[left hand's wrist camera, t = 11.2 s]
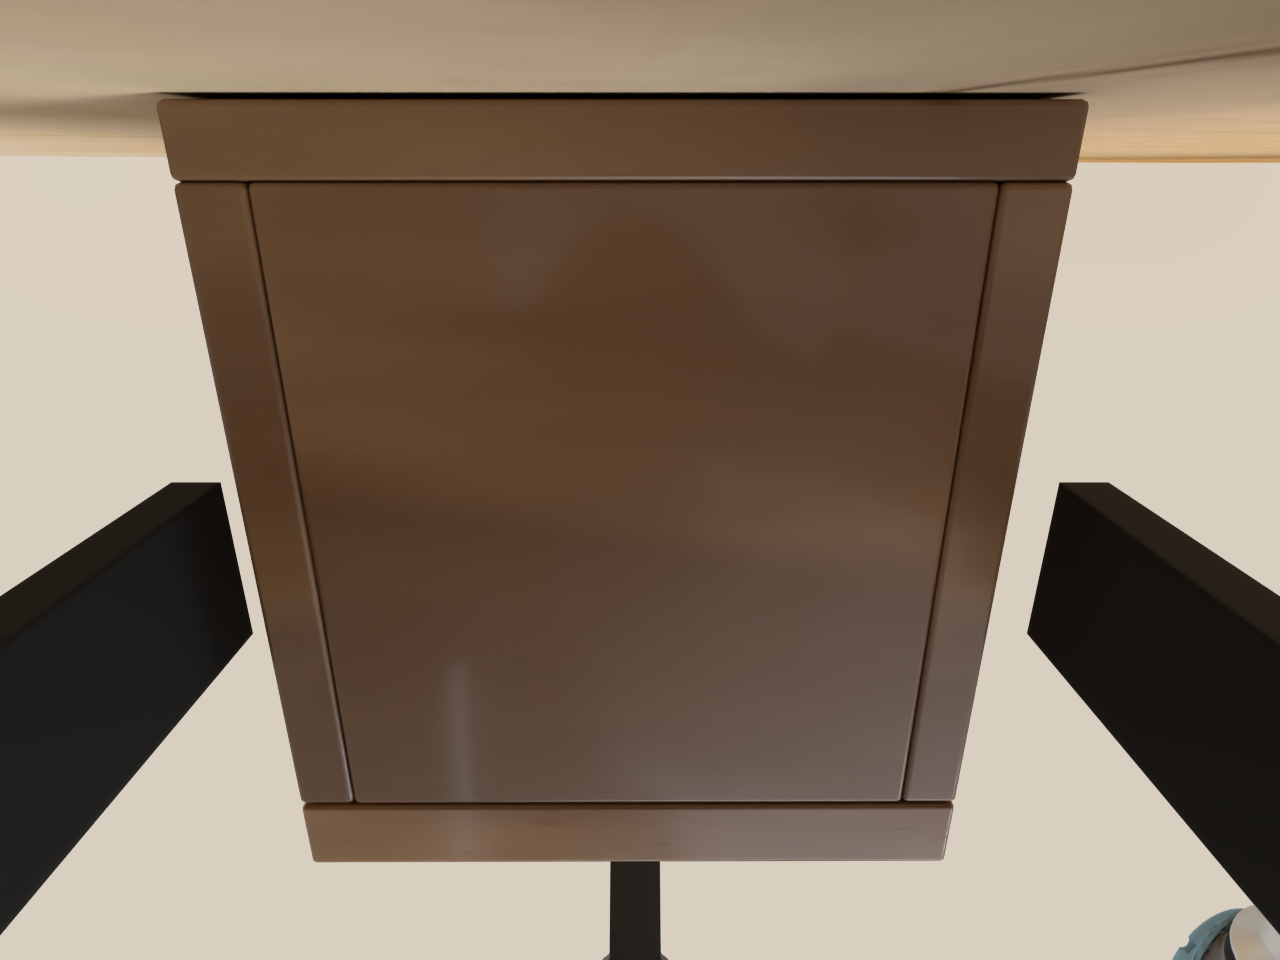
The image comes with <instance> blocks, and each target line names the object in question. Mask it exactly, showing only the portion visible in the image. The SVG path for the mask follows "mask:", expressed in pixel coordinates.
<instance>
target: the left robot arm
mask: <svg viewBox="0 0 1280 960" xmlns="http://www.w3.org/2000/svg"><path fill="white" fill-rule="evenodd" d="M252 634H253V632H252V627H251V622H250V618H249V613H248V608H247V604H246V599H245V594H244V590H243V585H242V580H241V576H240V571H239V567H238V562H237V557H236V553H235V548H234V543H233V539H232V534H231V529H230V525H229V520H228V515H227V511H226V506H225V501H224V497H223V492H222V488H221V483H170V484H169V485H167V486H166V487H164V488H163V489H161V490H160V491H158V492H157V493H155V494H154V495H152V496H151V497H149V498H148V499H146V500H144V501H143V502H142V503H140V504H138V505H137V506H136V507H134V508H132V509H131V510H130V511H128V512H126V513H125V514H123V515H122V516H120V517H119V518H117V519H116V520H114V521H113V522H111V523H110V524H108V525H107V526H105V527H104V528H102V529H101V530H99V531H98V532H96V533H95V534H93V535H92V536H90V537H89V538H87V539H86V540H84V541H83V542H81V543H80V544H78V545H77V546H75V547H74V548H72V549H71V550H69V551H68V552H66V553H65V554H63V555H62V556H60V557H59V558H57V559H56V560H54V561H53V562H51V563H50V564H48V565H47V566H45V567H44V568H42V569H41V570H39V571H38V572H36V573H35V574H33V575H32V576H30V577H29V578H27V579H26V580H24V581H23V582H21V583H20V584H18V585H17V586H15V587H14V588H12V589H10V590H9V591H8V592H6V593H4V594H3V595H2V596H0V935H1V934H2V932H3V931H4V930H5V929H6V928H7V926H8V925H9V924H10V923H11V922H12V920H13V919H14V918H15V917H16V916H17V914H18V913H19V912H20V911H21V910H22V909H23V907H24V906H25V905H26V904H27V902H28V901H29V900H30V899H31V898H32V897H33V895H34V894H35V893H36V892H37V891H38V889H39V888H40V887H41V886H42V885H43V883H44V882H45V881H46V880H47V879H48V877H49V876H50V875H51V874H52V873H53V871H54V870H55V869H56V868H57V867H58V866H59V864H60V863H61V862H62V861H63V860H64V858H65V857H66V856H67V855H68V854H69V852H70V851H71V850H72V849H73V848H74V846H75V845H76V844H77V843H78V842H79V840H80V839H81V838H82V837H83V836H84V834H85V833H86V832H87V831H88V830H89V829H90V827H91V826H92V825H93V824H94V822H95V821H96V820H97V819H98V818H99V817H100V815H101V814H102V813H103V812H104V811H105V809H106V808H107V807H108V806H109V805H110V803H111V802H112V801H113V800H114V799H115V798H116V796H117V795H118V794H119V793H120V792H121V790H122V789H123V788H124V787H125V786H126V784H127V783H128V782H129V781H130V780H131V778H132V777H133V776H134V775H135V774H136V772H137V771H138V770H139V769H140V768H141V766H142V765H143V764H144V763H145V762H146V760H147V759H148V758H149V757H150V756H151V755H152V753H153V752H154V751H155V750H156V749H157V747H158V746H159V745H160V744H161V743H162V741H163V740H164V739H165V738H166V737H167V735H168V734H169V733H170V732H171V731H172V729H173V728H174V727H175V726H176V725H177V723H178V722H179V721H180V720H181V719H182V718H183V716H184V715H185V714H186V713H187V712H188V710H189V709H190V708H191V707H192V706H193V704H194V703H195V702H196V701H197V700H198V698H199V697H200V696H201V695H202V694H203V692H204V691H205V690H206V689H207V688H208V686H209V685H210V684H211V683H212V682H213V680H214V679H215V678H216V677H217V676H218V675H219V673H220V672H221V671H222V670H223V669H224V667H225V666H226V665H227V664H228V663H229V661H230V660H231V659H232V658H233V657H234V655H235V654H236V653H237V652H238V651H239V649H240V648H241V647H242V646H243V645H244V644H245V642H246V641H247V640H248V639H249V638H250V636H251V635H252ZM1027 634H1028V635H1029V636H1030V638H1031V639H1032V640H1033V641H1034V642H1035V643H1036V645H1037V646H1038V647H1039V648H1040V649H1041V651H1042V652H1043V653H1044V654H1045V655H1046V657H1047V658H1048V659H1049V660H1050V661H1051V663H1052V664H1053V665H1054V666H1055V667H1056V669H1057V670H1058V671H1059V672H1060V673H1061V675H1062V676H1063V677H1064V678H1065V679H1066V680H1067V682H1068V683H1069V684H1070V685H1071V686H1072V688H1073V689H1074V690H1075V691H1076V692H1077V694H1078V695H1079V696H1080V697H1081V698H1082V700H1083V701H1084V702H1085V703H1086V704H1087V706H1088V707H1089V708H1090V709H1091V710H1092V712H1093V713H1094V714H1095V715H1096V716H1097V717H1098V719H1099V720H1100V721H1101V722H1102V723H1103V725H1104V726H1105V727H1106V728H1107V729H1108V731H1109V732H1110V733H1111V734H1112V735H1113V737H1114V738H1115V739H1116V740H1117V741H1118V743H1119V744H1120V745H1121V746H1122V747H1123V749H1124V750H1125V751H1126V752H1127V753H1128V754H1129V756H1130V757H1131V758H1132V759H1133V760H1134V762H1135V763H1136V764H1137V765H1138V766H1139V768H1140V769H1141V770H1142V771H1143V772H1144V774H1145V775H1146V776H1147V777H1148V778H1149V780H1150V781H1151V782H1152V783H1153V784H1154V785H1155V787H1156V788H1157V789H1158V790H1159V791H1160V793H1161V794H1162V795H1163V796H1164V797H1165V799H1166V800H1167V801H1168V802H1169V803H1170V805H1171V806H1172V807H1173V808H1174V809H1175V811H1176V812H1177V813H1178V814H1179V815H1180V817H1181V818H1182V819H1183V820H1184V821H1185V823H1186V824H1187V825H1188V826H1189V827H1190V829H1191V830H1192V831H1193V832H1194V833H1195V835H1196V836H1197V837H1198V838H1199V839H1200V840H1201V842H1202V843H1203V844H1204V845H1205V846H1206V848H1207V849H1208V850H1209V851H1210V852H1211V854H1212V855H1213V856H1214V857H1215V858H1216V860H1217V861H1218V862H1219V863H1220V864H1221V865H1222V867H1223V868H1224V869H1225V870H1226V872H1227V873H1228V874H1229V875H1230V876H1231V877H1232V879H1233V880H1234V881H1235V882H1236V883H1237V885H1238V886H1239V887H1240V888H1241V889H1242V891H1243V892H1244V893H1245V894H1246V895H1247V896H1248V898H1249V899H1250V900H1251V901H1252V902H1253V904H1254V905H1255V906H1256V907H1257V909H1258V910H1259V911H1260V912H1261V913H1262V914H1263V916H1264V917H1265V918H1266V919H1267V920H1268V922H1269V923H1270V924H1271V925H1272V926H1273V928H1274V929H1275V930H1276V931H1277V932H1278V934H1279V935H1280V596H1279V595H1277V594H1276V593H1274V592H1273V591H1271V590H1269V589H1268V588H1267V587H1265V586H1263V585H1262V584H1260V583H1259V582H1257V581H1256V580H1254V579H1253V578H1251V577H1250V576H1248V575H1247V574H1245V573H1244V572H1242V571H1241V570H1239V569H1238V568H1236V567H1235V566H1233V565H1232V564H1230V563H1229V562H1227V561H1226V560H1224V559H1223V558H1221V557H1220V556H1218V555H1217V554H1215V553H1214V552H1212V551H1211V550H1209V549H1208V548H1206V547H1205V546H1203V545H1202V544H1200V543H1199V542H1197V541H1196V540H1194V539H1193V538H1191V537H1190V536H1188V535H1187V534H1185V533H1184V532H1182V531H1181V530H1179V529H1178V528H1176V527H1175V526H1173V525H1172V524H1170V523H1169V522H1167V521H1166V520H1164V519H1163V518H1161V517H1160V516H1158V515H1157V514H1155V513H1154V512H1152V511H1151V510H1149V509H1148V508H1146V507H1145V506H1143V505H1142V504H1140V503H1139V502H1137V501H1136V500H1134V499H1132V498H1131V497H1130V496H1128V495H1127V494H1125V493H1123V492H1122V491H1120V490H1119V489H1117V488H1116V487H1114V486H1113V485H1111V484H1110V483H1059V487H1058V492H1057V497H1056V501H1055V506H1054V511H1053V515H1052V520H1051V525H1050V529H1049V534H1048V539H1047V543H1046V548H1045V553H1044V557H1043V562H1042V567H1041V571H1040V576H1039V580H1038V585H1037V590H1036V594H1035V599H1034V604H1033V608H1032V613H1031V618H1030V622H1029V627H1028V632H1027Z"/></svg>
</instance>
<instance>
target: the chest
mask: <svg viewBox="0 0 1280 960" xmlns="http://www.w3.org/2000/svg"><path fill="white" fill-rule="evenodd" d="M157 110H158V115H159V120H160V124H161V129H162V134H163V139H164V144H165V148H166V153H167V158H168V163H169V168H170V173H171V175H172V177H173V178H174V179H175V180H178V181H180V183H178V184H176V185H175V194H176V199H177V204H178V209H179V213H180V218H181V223H182V228H183V233H184V237H185V242H186V247H187V252H188V257H189V261H190V266H191V271H192V276H193V281H194V286H195V290H196V295H197V300H198V305H199V310H200V314H201V319H202V324H203V329H204V333H205V338H206V343H207V348H208V353H209V358H210V362H211V367H212V372H213V377H214V382H215V387H216V391H217V396H218V401H219V406H220V411H221V415H222V420H223V425H224V430H225V435H226V439H227V444H228V449H229V454H230V459H231V464H232V468H233V473H234V478H235V483H236V488H237V492H238V497H239V502H240V507H241V512H242V516H243V521H244V526H245V531H246V536H247V541H248V545H249V550H250V555H251V560H252V565H253V569H254V574H255V579H256V584H257V589H258V593H259V598H260V603H261V608H262V613H263V617H264V622H265V627H266V632H267V637H268V641H269V646H270V651H271V656H272V661H273V666H274V670H275V675H276V680H277V685H278V690H279V694H280V699H281V704H282V709H283V714H284V719H285V723H286V728H287V733H288V738H289V743H290V747H291V752H292V757H293V762H294V767H295V771H296V776H297V781H298V786H299V791H300V795H301V799H302V801H304V802H351V801H353V800H354V798H355V800H356V801H357V802H360V803H396V802H790V801H899V800H900V799H901V796H902V798H903V799H904V800H906V801H951V800H953V799H954V798H955V794H956V789H957V784H958V779H959V774H960V768H961V763H962V758H963V753H964V748H965V743H966V737H967V732H968V727H969V722H970V716H971V712H972V706H973V701H974V696H975V691H976V686H977V680H978V675H979V670H980V665H981V660H982V655H983V649H984V644H985V639H986V633H987V629H988V623H989V618H990V613H991V608H992V603H993V597H994V592H995V587H996V582H997V577H998V572H999V566H1000V561H1001V556H1002V550H1003V546H1004V541H1005V535H1006V530H1007V525H1008V520H1009V515H1010V509H1011V504H1012V499H1013V494H1014V489H1015V484H1016V478H1017V473H1018V468H1019V463H1020V458H1021V452H1022V447H1023V442H1024V437H1025V432H1026V427H1027V421H1028V416H1029V411H1030V406H1031V401H1032V395H1033V390H1034V385H1035V380H1036V375H1037V370H1038V364H1039V359H1040V354H1041V349H1042V344H1043V338H1044V333H1045V328H1046V323H1047V318H1048V313H1049V307H1050V302H1051V297H1052V292H1053V287H1054V281H1055V276H1056V271H1057V266H1058V261H1059V256H1060V250H1061V245H1062V240H1063V234H1064V230H1065V224H1066V219H1067V214H1068V209H1069V204H1070V198H1071V193H1072V186H1071V184H1069V183H1067V182H1066V181H1069V180H1071V179H1073V178H1074V176H1075V174H1076V169H1077V164H1078V159H1079V154H1080V149H1081V144H1082V138H1083V133H1084V128H1085V123H1086V118H1087V113H1088V102H1087V101H1085V100H1083V99H162V100H160V101H159V102H157Z"/></svg>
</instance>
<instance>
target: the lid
mask: <svg viewBox="0 0 1280 960" xmlns="http://www.w3.org/2000/svg"><path fill="white" fill-rule="evenodd" d="M303 813H304V818H305V822H306V827H307V832H308V837H309V841H310V846H311V851H312V856H313V860H314V861H315V862H566V861H567V862H568V861H569V862H572V861H574V862H576V861H917V860H918V861H935V860H942V859H943V858H944V854H945V849H946V844H947V838H948V833H949V828H950V823H951V818H952V813H953V804H952V802H951V801H906V800H904V799H903V798H902V796H901V799H900V800H899V801H790V802H396V803H360V802H357V801H356V800H355V798H354V800H353V801H351V802H305V804H304V806H303Z"/></svg>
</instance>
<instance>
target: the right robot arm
mask: <svg viewBox="0 0 1280 960" xmlns="http://www.w3.org/2000/svg"><path fill="white" fill-rule="evenodd" d="M660 945H661V943H660V861H611V870H610V953H609V955H607V956H606V957H605V958H603V960H668V959H667V958H666V957H665V956H663V955H662V954H661V946H660ZM1172 960H1280V935H1279V934H1278V932H1277V931H1276V930H1275V929H1274V928H1273V926H1272V925H1271V924H1270V923H1269V922H1268V920H1267V919H1266V918H1265V917H1264V916H1263V914H1262V913H1261V912H1260V911H1259V910H1258V909H1257V907H1256V906H1255V905H1251V906H1249V907H1247V908H1244V909H1231V910H1227V911H1224V912H1221V913H1219V914H1216V915H1215V916H1213V917H1211V918H1209V919H1208V920H1206V921H1205V922H1203V923H1202V924H1201V925H1199V926H1198V927H1197V928H1196V929H1195V930H1194V931H1193V932H1192V933H1191V934H1190V935H1189V942H1188V944H1187V946H1185V947H1180V948H1179V949H1178V951H1177V952H1176V954H1175V955H1174V957H1173V959H1172Z"/></svg>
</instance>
